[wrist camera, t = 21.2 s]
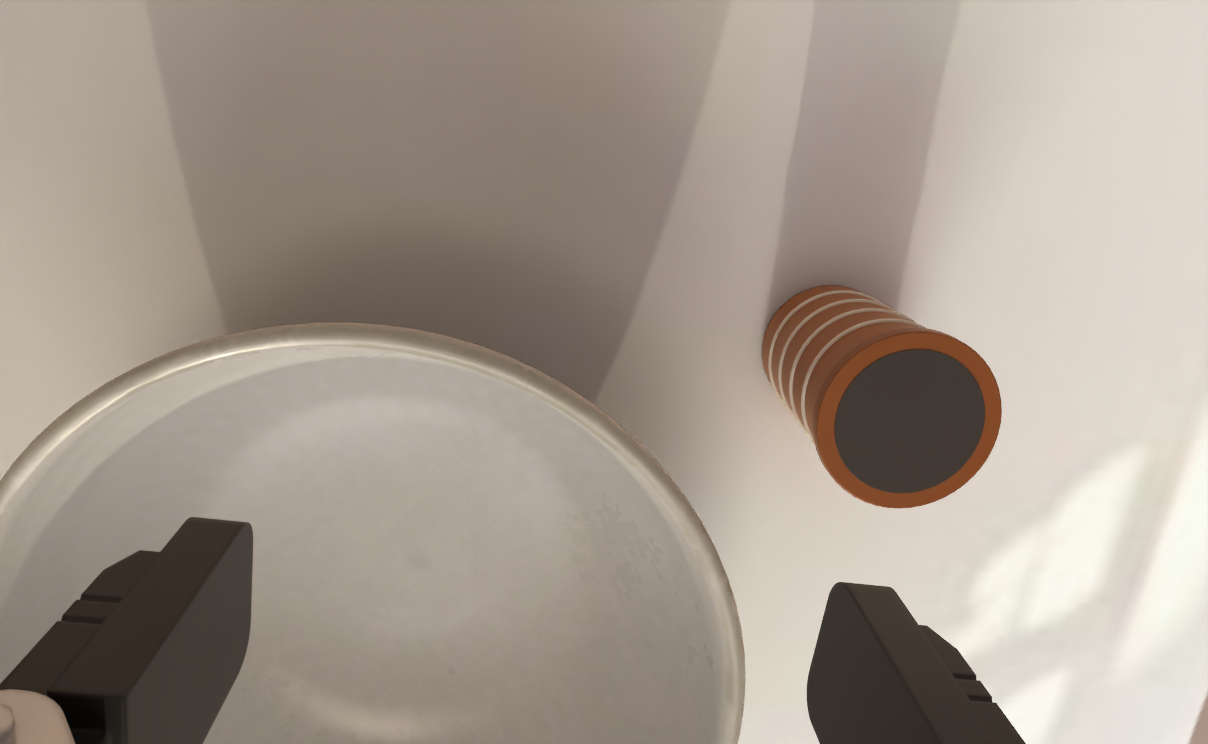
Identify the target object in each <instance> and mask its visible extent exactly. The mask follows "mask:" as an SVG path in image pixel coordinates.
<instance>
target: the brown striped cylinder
mask: <svg viewBox="0 0 1208 744" xmlns="http://www.w3.org/2000/svg"><path fill="white" fill-rule="evenodd" d="M762 359H763V366H764V369H765V373H766V375H767V377H768V380H769V381H770V383H771V385H772V386H773V388H774V391H775V392H776V394H777V396H778V397H779V399H780V400H781V401H782V403H783V404H784V405H785V406H786V407H787V409H788V410H789V412H790V413H791V415H792V416H793V417H794V418H795V419H796V420H797V421H798V423H799V425H800V426H801V428H802V429H803V430H804V431H805V433H806V434H807V435H808V436H809V437H810V438H811V440H812V442H813V443H814V445H815V446H816V450H817V452H818V455H819V457H820V460H821V461H822V463H823V465H824V466H825V468H826V470H827V471H828V472H829V474H830V475H831V476H832V477H833V479H834V480H835V481H836V482H837V483H838V484H839V485H840V486H841V487H842V488H843V489H844V490H845V491H847V492H848V493H850V494H851V495H853V496H854V497H856V498H858V499H860V500H862V501H864V502H867V503H870V504H873V505H876V506H882V507H887V508H911V507H916V506H922V505H925V504H929V503H932V502H935V501H937V500H939V499H942V498H944V497H946V496H948V495H949V494H951V493H953V492H955V491H956V490H957V489H959V488H960V487H962V486H963V485H964V484H965V483H967V482H968V481H969V480H970V479H971V478H972V477H973V476H974V475H975V474H976V473H977V471H978V470H979V469H980V468H981V467H982V465H983V464H984V462H985V461H986V459H987V458H988V456H989V455H990V453H991V451H992V449H993V447H994V444H995V442H996V439H997V436H998V432H999V428H1000V423H1001V413H1002V411H1001V398H1000V393H999V388H998V385H997V382H996V379H995V377H994V375H993V373H992V371H991V369H990V368H989V366H988V365H987V364H986V362H985V361H984V359H983V358H982V357H981V356H980V355H979V354H978V353H977V352H976V351H974V350H973V349H972V348H970V347H969V346H968V345H966V344H965V343H963V342H961V341H959V340H958V339H956V338H954V337H952V336H950V335H948V334H945V333H942V332H939V331H935V330H931V329H927V328H925V327H923V326H921V325H919V324H917V323H916V322H914V321H913V320H911V319H910V318H908V317H906V316H904V315H902V314H900V313H898V312H897V311H896V310H894V309H892V308H891V307H889V306H887V305H885V304H883V303H882V302H880V301H879V300H877V299H875V298H873V297H872V296H869V295H867V294H864V293H860V292H858V291H856V290H854V289H851V288H848V287H843V286H835V285H828V286H819V287H814V288H811V289H808V290H806V291H803V292H801V293H799V294H797V295H796V296H794V297H793V298H791V299H790V300H789V301H787V302H786V303H785V304H784V305H783V306H782V307H781V308H780V309H779V310H778V311H777V313H776V314H775V315H774V317H773V318H772V320H771V322H770V323H769V325H768V328H767V330H766V333H765V336H764V340H763V347H762Z"/></svg>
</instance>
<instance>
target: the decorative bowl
mask: <svg viewBox="0 0 1208 744" xmlns="http://www.w3.org/2000/svg"><path fill="white" fill-rule="evenodd" d="M190 517H200V518H210V519H220V520H230V521H240V522H248V523H250V524H251V526H252V530H253V569H252V602H251V627H250V636H249V642H248V647H247V651H246V655H245V658H244V662H243V665H242V667H241V670H240V672H239V674H238V676H237V678H236V680H235V682H234V684H233V686H232V688H231V690H230V692H229V694H228V696H227V698H226V700H225V702H224V703H223V705H222V707H221V709H220V711H219V713H218V715H217V717H216V719H215V721H214V723H213V725H212V727H211V729H210V731H209V732H208V734H207V736H206V738H205V740H204V742H203V744H737V743H738V739H739V735H740V730H741V723H742V716H743V710H744V697H745V654H744V646H743V638H742V631H741V625H740V621H739V616H738V612H737V607H736V603H735V599H734V596H733V593H732V590H731V587H730V584H729V580H728V577H727V575H726V572H725V570H724V567H723V565H722V563H721V560H720V558H719V556H718V553H717V551H716V548H715V546H714V544H713V543H712V541H711V539H710V537H709V535H708V533H707V531H706V529H705V527H704V526H703V524H702V522H701V520H700V519H699V517H698V516H697V514H696V513H695V511H694V509H693V508H692V506H691V505H690V503H689V502H688V500H687V499H686V497H685V496H684V494H683V493H682V492H681V490H680V489H679V488H678V487H677V485H676V484H675V483H674V481H673V480H672V479H671V477H670V476H669V475H668V474H667V472H666V471H665V470H664V469H663V468H662V467H661V465H660V464H659V463H658V462H657V461H656V460H655V459H654V458H653V457H652V456H651V454H650V453H649V452H648V451H647V450H646V449H645V448H644V447H643V446H642V445H641V444H640V443H639V442H638V441H637V440H636V439H635V438H634V437H632V436H631V435H630V434H629V433H628V432H627V431H626V430H625V429H624V428H623V427H622V426H621V425H620V424H618V423H617V422H616V421H615V420H613V419H612V418H611V417H610V416H608V415H607V414H606V413H604V412H603V411H602V410H601V409H599V408H598V407H597V406H596V405H594V404H593V403H591V402H590V401H588V400H587V399H585V398H584V397H582V396H581V395H579V394H578V393H576V392H575V391H573V390H572V389H570V388H569V387H567V386H566V385H564V384H562V383H561V382H559V381H557V380H555V379H553V378H552V377H550V376H548V375H546V374H545V373H543V372H541V371H539V370H537V369H535V368H533V367H531V366H529V365H527V364H524V363H522V362H520V361H518V360H516V359H514V358H512V357H509V356H507V355H504V354H501V353H499V352H496V351H493V350H491V349H488V348H486V347H483V346H480V345H477V344H474V343H470V342H467V341H464V340H460V339H457V338H453V337H450V336H446V335H441V334H437V333H432V332H427V331H423V330H418V329H412V328H404V327H397V326H390V325H382V324H367V323H352V322H322V323H303V324H292V325H280V326H273V327H267V328H260V329H254V330H248V331H242V332H238V333H234V334H230V335H226V336H222V337H218V338H214V339H210V340H206V341H202V342H199V343H196V344H193V345H190V346H187V347H184V348H181V349H178V350H175V351H172V352H170V353H167V354H165V355H163V356H160V357H158V358H155V359H153V360H151V361H148V362H146V363H144V364H141V365H139V366H137V367H136V368H134V369H132V370H130V371H128V372H126V373H124V374H122V375H120V376H119V377H117V378H115V379H113V380H111V381H109V382H107V383H106V384H104V385H103V386H101V387H100V388H98V389H97V390H95V391H94V392H92V393H90V394H89V395H87V396H86V397H84V398H83V399H81V400H80V401H79V402H77V403H76V404H75V405H73V406H72V407H71V408H70V409H68V410H67V411H66V412H64V413H63V414H62V415H61V416H59V417H58V418H57V419H56V420H54V421H53V422H52V423H51V424H50V425H49V426H48V427H47V428H46V429H45V430H44V431H43V432H42V433H41V434H40V435H38V436H37V437H36V438H35V439H34V440H33V441H32V442H31V443H30V445H29V446H28V447H27V448H26V449H25V450H24V451H23V453H22V454H21V455H20V456H19V457H18V458H17V459H16V461H15V462H14V463H13V464H12V465H11V467H10V468H9V470H8V471H7V472H6V474H5V475H4V476H3V478H2V479H1V481H0V684H1V683H2V681H3V680H4V679H5V678H6V677H7V676H8V675H9V674H10V673H11V672H12V670H13V669H14V668H15V667H16V666H17V665H18V664H19V663H20V662H21V660H22V659H23V658H24V657H25V656H26V655H27V654H28V653H29V652H30V651H31V649H32V648H33V647H34V646H35V645H36V644H37V643H38V642H39V641H40V639H41V638H42V637H43V636H44V635H45V634H46V633H47V632H48V631H49V630H50V628H51V627H52V626H53V625H54V624H55V623H56V622H57V621H61V619H62V615H63V614H64V613H65V612H66V611H67V610H68V609H69V607H70V606H71V605H72V604H73V603H74V602H75V601H76V600H80V598H81V594H82V593H83V592H84V591H85V590H86V589H87V588H88V586H89V585H90V584H91V583H92V582H93V581H94V580H95V579H96V578H97V576H98V575H99V574H100V573H101V572H102V571H103V570H104V569H106V568H108V567H110V566H111V565H113V564H115V563H117V562H119V561H121V560H122V559H124V558H126V557H128V556H130V555H132V554H133V553H135V552H137V551H139V550H144V551H155V552H160V551H161V550H162V549H163V548H164V547H165V545H166V544H167V543H168V542H169V540H170V539H171V538H172V537H173V536H174V534H175V533H176V532H177V531H178V529H179V528H180V527H181V526H182V525H183V523H184V522H185V521H186V520H187V519H188V518H190Z"/></svg>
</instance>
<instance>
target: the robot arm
mask: <svg viewBox="0 0 1208 744" xmlns="http://www.w3.org/2000/svg"><path fill="white" fill-rule="evenodd" d="M252 569H253V530H252V526H251V524H250V523H248V522H240V521H230V520H220V519H210V518H200V517H190V518H188V519H187V520H186V521H185V522H184V523H183V525H182V526H181V527H180V528H179V529H178V531H177V532H176V533H175V534H174V536H173V537H172V538H171V539H170V540H169V542H168V543H167V544H166V545H165V547H164V548H163V549H162V550H161V551H160V552H155V551H144V550H139V551H137V552H135V553H133V554H132V555H130V556H128V557H126V558H124V559H122V560H121V561H119V562H117V563H115V564H113V565H111V566H110V567H108V568H106V569H104V570H103V571H102V572H101V573H100V574H99V575H98V576H97V578H96V579H95V580H94V581H93V582H92V583H91V584H90V585H89V586H88V588H87V589H86V590H85V591H84V592H83V593H82V594H81V598H80V600H76V601H75V602H74V603H73V604H72V605H71V606H70V607H69V609H68V610H67V611H66V612H65V613H64V614H63V615H62V619H61V621H57V622H56V623H55V624H54V625H53V626H52V627H51V628H50V630H49V631H48V632H47V633H46V634H45V635H44V636H43V637H42V638H41V639H40V641H39V642H38V643H37V644H36V645H35V646H34V647H33V648H32V649H31V651H30V652H29V653H28V654H27V655H26V656H25V657H24V658H23V659H22V660H21V662H20V663H19V664H18V665H17V666H16V667H15V668H14V669H13V670H12V672H11V673H10V674H9V675H8V676H7V677H6V678H5V679H4V680H3V681H2V683H1V684H0V744H203V742H204V740H205V738H206V736H207V734H208V732H209V731H210V729H211V727H212V725H213V723H214V721H215V719H216V717H217V715H218V713H219V711H220V709H221V707H222V705H223V703H224V702H225V700H226V698H227V696H228V694H229V692H230V690H231V688H232V686H233V684H234V682H235V680H236V678H237V676H238V674H239V672H240V670H241V667H242V665H243V662H244V658H245V655H246V651H247V647H248V642H249V636H250V627H251V602H252ZM807 705H808V712H809V716H810V720H811V723H812V725H813V728H814V730H815V733H816V735H817V737H818V740H819V742H820V744H1025V742H1024V741H1023V739H1022V738H1021V737H1020V735H1019V734H1018V733H1017V731H1016V730H1015V728H1014V727H1013V726H1012V724H1011V723H1010V722H1009V720H1008V719H1007V717H1006V716H1005V715H1004V713H1003V712H1002V711H1001V709H1000V708H999V706H998V705H997V704H996V703H992V697H991V695H990V694H989V693H988V691H987V690H986V688H985V687H984V686H983V684H982V683H981V682H980V681H976V675H975V673H974V672H973V671H972V669H971V668H970V666H969V665H968V664H967V662H966V661H965V660H964V658H963V657H962V655H961V654H960V653H959V651H958V650H957V649H956V648H955V647H953V646H952V645H951V644H949V643H948V642H947V641H946V640H944V639H943V638H942V637H941V636H939V635H938V634H937V633H935V632H934V631H933V630H932V629H930V628H929V627H928V626H924V625H918V624H917V622H916V621H915V619H914V618H913V616H912V615H911V613H910V612H909V611H908V609H907V608H906V606H905V605H904V603H903V602H902V600H901V599H900V597H899V596H898V595H897V593H896V592H895V591H894V589H892V588H890V587H885V586H875V585H864V584H854V583H844V582H838V583H836V584H835V585H834V586H833V588H832V590H831V592H830V594H829V597H828V601H827V605H826V609H825V612H824V616H823V620H822V624H821V628H820V632H819V636H818V640H817V644H816V648H815V651H814V655H813V659H812V663H811V667H810V671H809V676H808V682H807Z"/></svg>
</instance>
